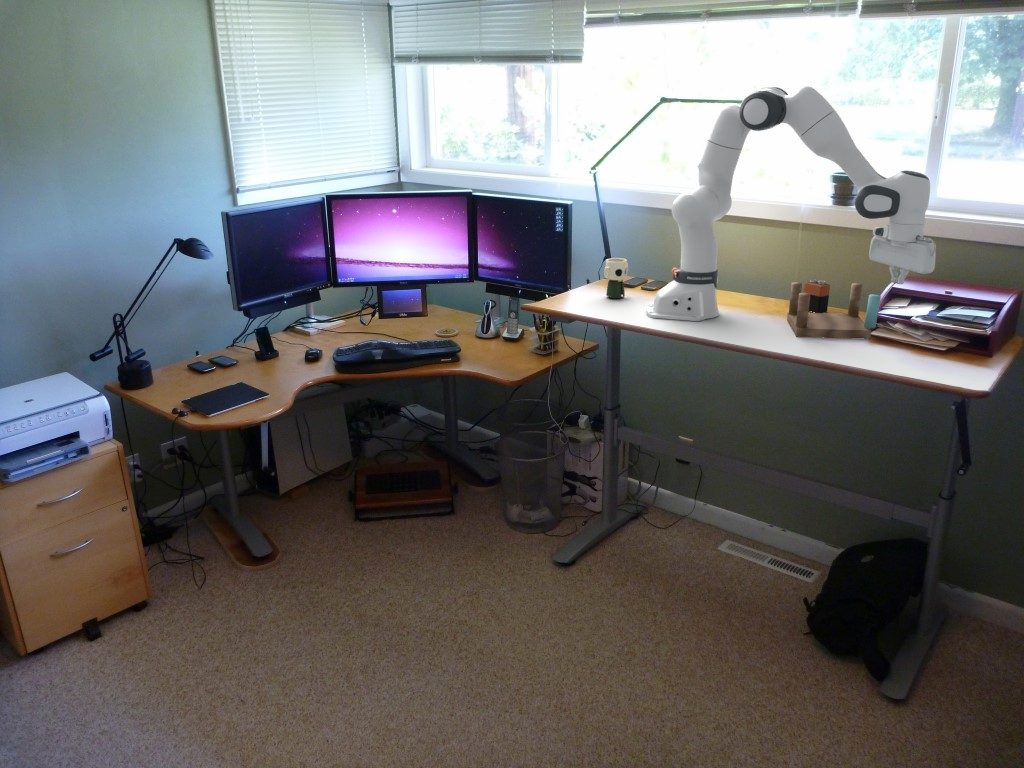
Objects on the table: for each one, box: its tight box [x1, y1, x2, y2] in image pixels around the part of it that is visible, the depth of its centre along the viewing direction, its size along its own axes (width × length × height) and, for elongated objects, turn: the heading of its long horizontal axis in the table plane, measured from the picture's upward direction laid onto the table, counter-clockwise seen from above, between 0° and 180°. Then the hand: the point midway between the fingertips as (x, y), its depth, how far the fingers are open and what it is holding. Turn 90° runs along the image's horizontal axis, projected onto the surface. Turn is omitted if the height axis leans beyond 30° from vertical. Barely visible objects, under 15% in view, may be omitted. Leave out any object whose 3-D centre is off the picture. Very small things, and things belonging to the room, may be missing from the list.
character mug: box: [603, 257, 629, 299], centre depth 283 cm, size 11×7×13 cm, turn 128°
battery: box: [802, 278, 831, 313], centre depth 263 cm, size 4×7×10 cm, turn 32°
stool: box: [786, 281, 872, 340], centre depth 243 cm, size 20×18×12 cm
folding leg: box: [864, 293, 881, 329], centre depth 235 cm, size 3×3×9 cm
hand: (897, 283), depth 231 cm, fingers closed
